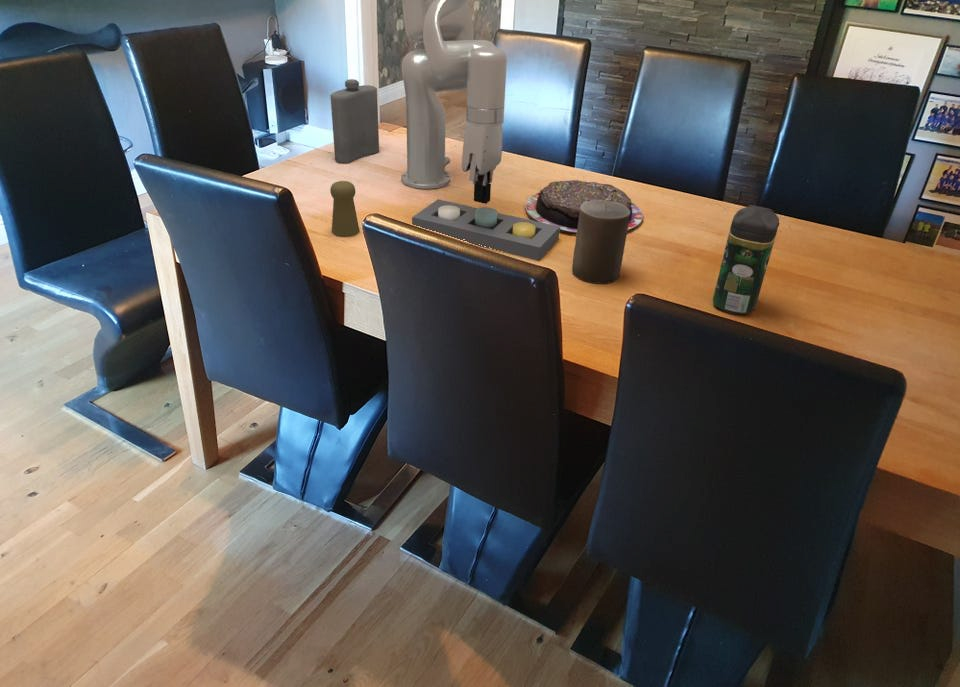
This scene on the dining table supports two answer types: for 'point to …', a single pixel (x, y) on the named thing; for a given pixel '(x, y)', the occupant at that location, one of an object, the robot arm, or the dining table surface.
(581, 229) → the pillar candle
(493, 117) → the robot arm
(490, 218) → the teal button
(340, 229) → the cork
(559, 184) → the chocolate cake
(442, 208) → the ivory button
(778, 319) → the dining table surface
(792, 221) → the dining table surface
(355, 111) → the flask
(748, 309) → the coffee jar
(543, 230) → the console
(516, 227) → the mustard button
